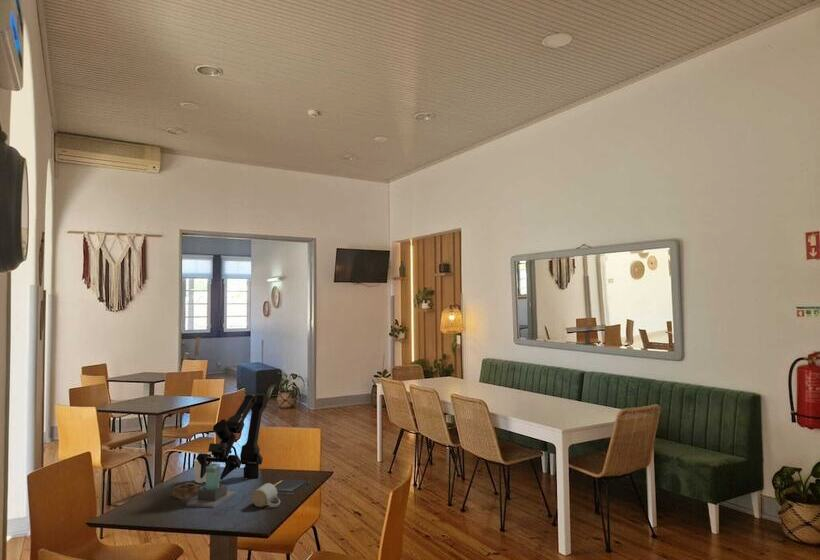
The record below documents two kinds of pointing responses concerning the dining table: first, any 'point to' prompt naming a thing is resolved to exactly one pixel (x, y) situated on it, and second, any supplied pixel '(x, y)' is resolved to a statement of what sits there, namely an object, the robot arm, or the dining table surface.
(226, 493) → the port board
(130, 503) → the dining table surface
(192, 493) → the holster
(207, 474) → the plug
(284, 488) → the grey flat slab
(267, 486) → the ceramic mug
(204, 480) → the white cup
